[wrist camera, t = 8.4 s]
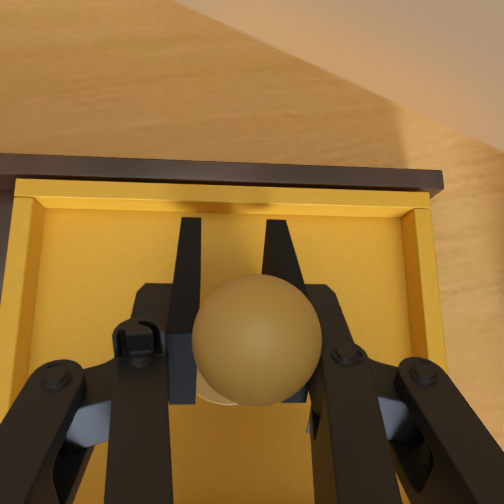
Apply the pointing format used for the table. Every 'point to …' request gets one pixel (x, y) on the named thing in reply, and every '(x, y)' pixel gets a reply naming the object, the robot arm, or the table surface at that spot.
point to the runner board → (199, 177)
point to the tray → (141, 247)
